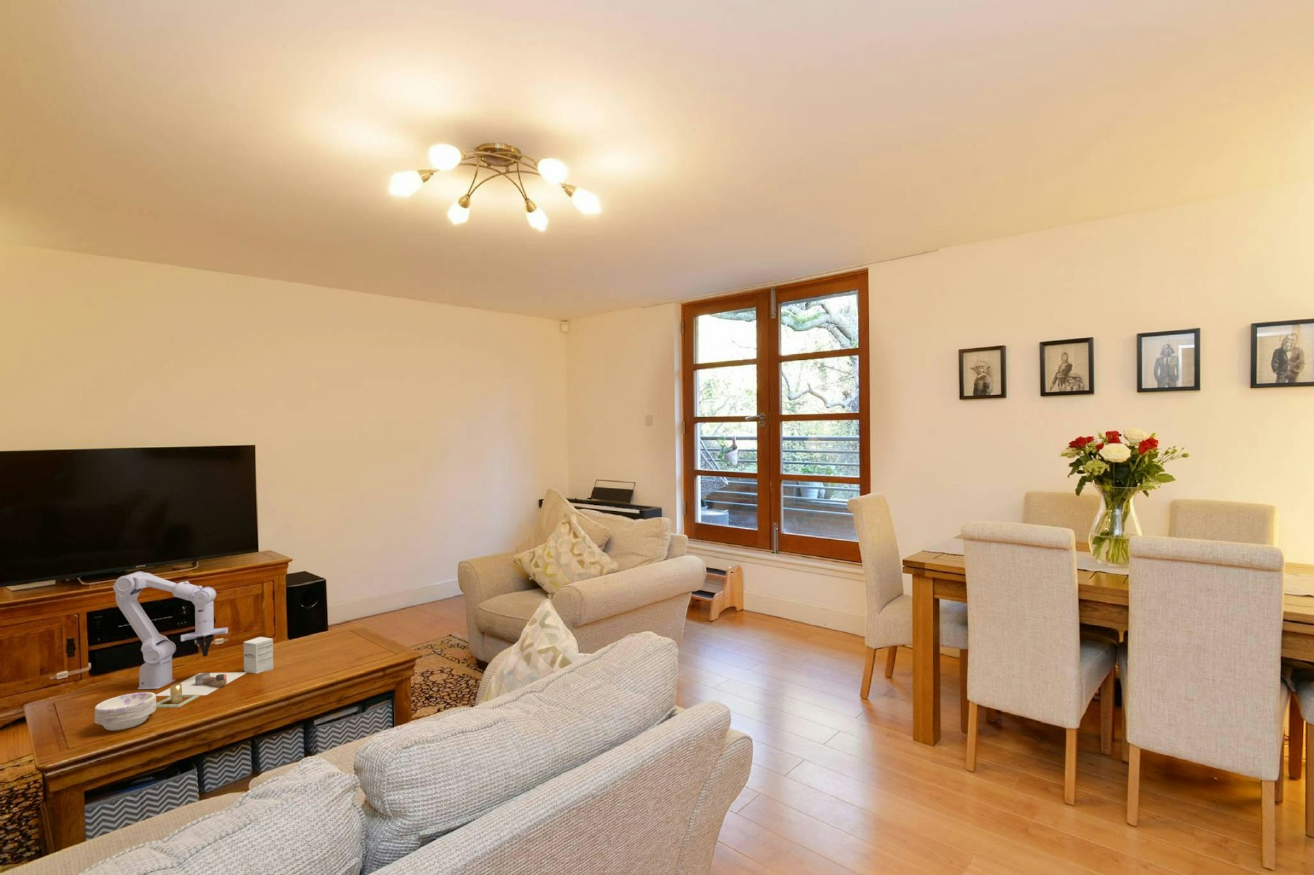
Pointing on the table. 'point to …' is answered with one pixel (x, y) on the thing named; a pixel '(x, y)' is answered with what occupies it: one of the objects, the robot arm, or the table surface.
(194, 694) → the tray
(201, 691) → the board
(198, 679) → the crank
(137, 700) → the paper bowls
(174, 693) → the pin
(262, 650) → the supplement box
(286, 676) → the table surface
